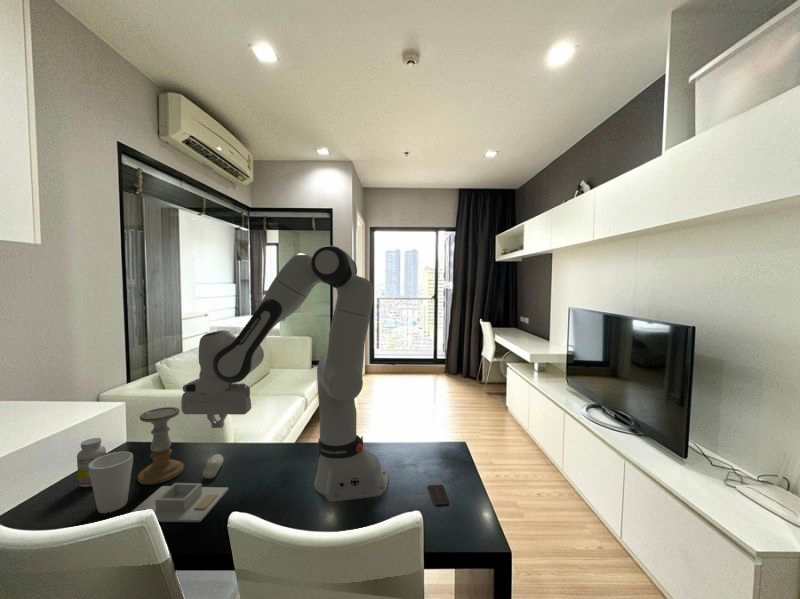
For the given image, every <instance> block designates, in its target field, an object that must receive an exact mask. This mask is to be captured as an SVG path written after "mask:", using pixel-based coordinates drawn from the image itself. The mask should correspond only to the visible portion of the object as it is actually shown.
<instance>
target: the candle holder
mask: <svg viewBox="0 0 800 599" xmlns="http://www.w3.org/2000/svg"><path fill="white" fill-rule="evenodd" d="M179 414H180V409H179V408H178V407H175V406H174V407H172V406H168V407H167V406H165V407H157V408H154V409H149V410H147V411H145V412H143V413H141V414H140V416H139V419H140V421H141V422H143V423H151V424H152V425H153V429H152V430H151V431H150V434H151V435H152V436H153V437H152V441H151V444H150V450H151V451H152V452H151V453H150V455H149V458H151V459H152V463H151V464H149V465H148V466H146V467H145V468H143V469H142V470H141V471H140V472H138V473H139V474H138V475H137V481H138V483H140V484H141V485H158V484H161V483H165V482H168V481H171V480H172V479H174V478H177V477H179V475H181V474H182V473H183V472H184V469H185V464H184V463H183V462H182V461H180V460H177V459H171V457H170V456H171V454H172V452H173V450H172V449H171V446H172V440H171V438H170V435H169V431H171V428H170V427H169V426H168V422H169V421H170V419H173V418H175V417H176V416H179Z"/></svg>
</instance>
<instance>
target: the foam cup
mask: <svg viewBox="0 0 800 599" xmlns="http://www.w3.org/2000/svg"><path fill="white" fill-rule="evenodd" d="M133 465H134V454H133V453H132V452H130V451H118V452H116V451H114V452H110V453H108V454H107V453H106V455H104V456H101V457H99V458H97V459H95V460H93V461H92V462H91V463H89V476H90V478H91V483H92V486H91V487H92V491H93V496H94V500H95V504H96V505H95V506H96V509H97V512H98V513H100V514H108V512H109V513H113V512H115V511H117V510H120V509H121V508H123V507H125V506H126V504H128V499H129V492H130V484H131V476H132V468H133Z"/></svg>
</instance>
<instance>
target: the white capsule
mask: <svg viewBox="0 0 800 599" xmlns="http://www.w3.org/2000/svg"><path fill="white" fill-rule="evenodd" d="M223 462H224V457H223V455H222V454H220V453H216V454H213V455H212V456H211V458H210V460H209V461H208V463H207V464H206V466H205V467H204V469H203V471H202V476H203V477H204V478H205V479H207V480H208V479H213V478H215V477H216V476H217V473H218V472H219V470H220V469H221V466H222V465H223Z"/></svg>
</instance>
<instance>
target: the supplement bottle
mask: <svg viewBox="0 0 800 599" xmlns="http://www.w3.org/2000/svg"><path fill="white" fill-rule="evenodd" d="M80 449H81V450H80V451H79V452H78V453H77V455H76V464H77V465H76V467H77V481H78V482H77V484H78V486H79V487H81V488H89V487H92V483H91V478H90V476H89V463H91V462H92V461H93V460H95V459H97V458H99V457H101V456H104V455H107V451H106V450H107V447H105V445H102V438H100V437H93V438H89V439H86V440H83V441H82V442H81V443H80Z"/></svg>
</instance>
